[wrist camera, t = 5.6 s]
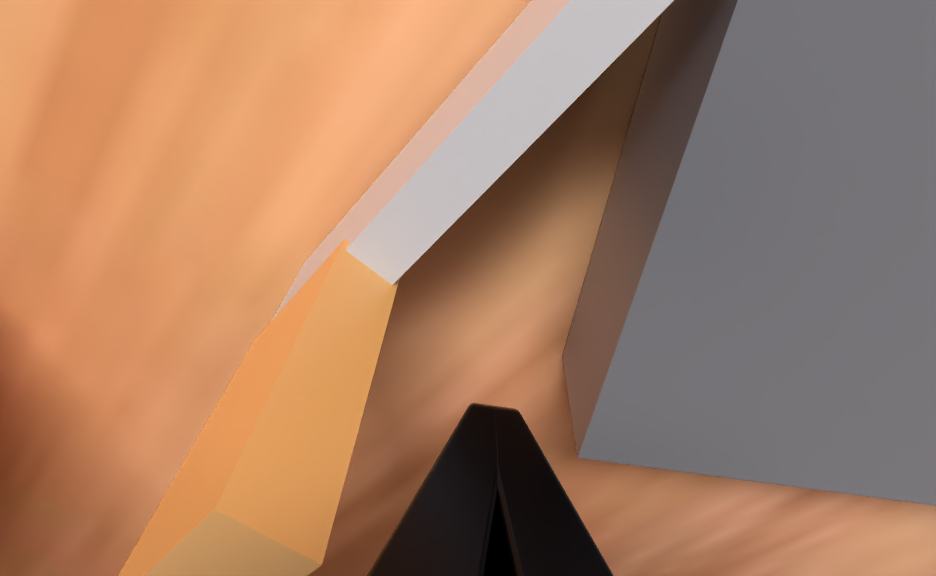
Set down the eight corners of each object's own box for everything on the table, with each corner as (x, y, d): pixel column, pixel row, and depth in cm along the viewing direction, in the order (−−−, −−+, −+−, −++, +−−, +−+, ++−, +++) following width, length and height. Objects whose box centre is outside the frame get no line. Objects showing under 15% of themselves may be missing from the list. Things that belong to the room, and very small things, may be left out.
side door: (696, -94, 10) (1263, -141, 3) (343, 284, 15) (181, 670, 7) (652, -151, 10) (1166, -391, 2) (303, 256, 14) (85, 631, 7)
